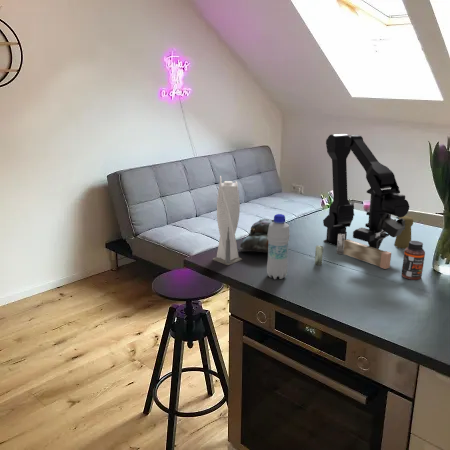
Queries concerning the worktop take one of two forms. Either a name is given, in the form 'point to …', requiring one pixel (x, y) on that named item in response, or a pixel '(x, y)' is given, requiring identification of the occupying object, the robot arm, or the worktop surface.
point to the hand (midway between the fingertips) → (374, 254)
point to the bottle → (278, 247)
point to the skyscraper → (227, 222)
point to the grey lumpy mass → (257, 237)
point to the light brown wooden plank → (367, 253)
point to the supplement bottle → (413, 261)
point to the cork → (404, 234)
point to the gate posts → (339, 249)
